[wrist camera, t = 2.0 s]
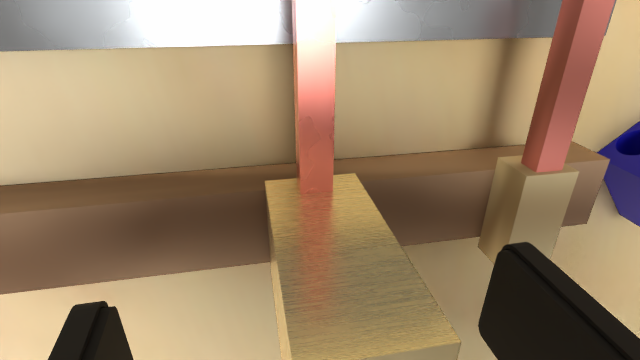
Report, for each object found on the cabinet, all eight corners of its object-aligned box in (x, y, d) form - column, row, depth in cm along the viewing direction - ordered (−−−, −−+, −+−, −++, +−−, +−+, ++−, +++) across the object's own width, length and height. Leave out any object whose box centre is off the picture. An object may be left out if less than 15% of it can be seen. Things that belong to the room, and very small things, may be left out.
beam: (550, 209, 19) (614, 255, 16) (-16, 273, 15) (-85, 353, 11) (619, -12, 14) (727, -10, 11) (-156, -10, 10) (-328, -7, 7)
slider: (350, 267, 15) (431, 468, 9) (271, 277, 14) (299, 498, 8) (363, -10, 11) (541, 1, 4) (251, -10, 10) (277, 4, 4)
